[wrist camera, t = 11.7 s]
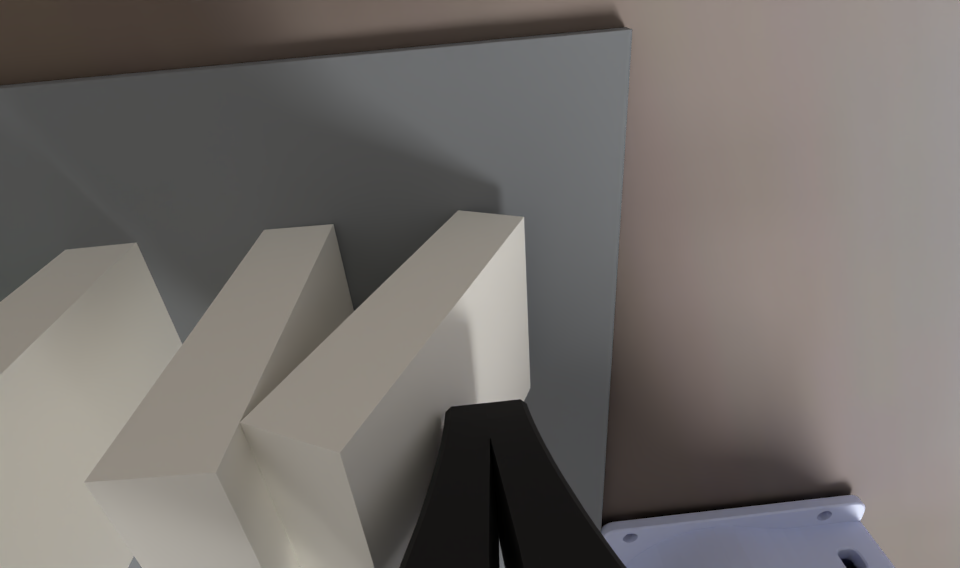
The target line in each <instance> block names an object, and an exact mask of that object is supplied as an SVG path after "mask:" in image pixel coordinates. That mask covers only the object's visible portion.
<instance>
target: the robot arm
mask: <svg viewBox="0 0 960 568" xmlns="http://www.w3.org/2000/svg"><path fill="white" fill-rule="evenodd" d="M864 511H865V505H864V504H863V502H862V501H861V500H860V499H859V497H857V496H855V495H844V496H835V497H826V498H818V499H809V500H800V501H791V502H783V503H774V504H765V505H756V506H748V507H739V508H730V509H721V510H713V511H704V512H695V513H686V514H677V515H669V516H660V517H651V518H642V519H634V520H625V521H616V522H611V523H608V524H606V525H604V526H603V527H602V528H601V532H600V531H599V529H598V528H597V527H596V525H595V524H594V522H593V521H592V519H591V518H590V516H589V515H588V513H587V512H586V511H585V509H584V508H583V506H582V504H581V503H580V501H579V500H578V498H577V497H576V495H575V493H574V492H573V490H572V489H571V487H570V486H569V484H568V482H567V481H566V479H565V478H564V476H563V474H562V473H561V471H560V469H559V468H558V466H557V464H556V463H555V461H554V459H553V457H552V455H551V454H550V452H549V450H548V448H547V446H546V445H545V443H544V441H543V439H542V437H541V435H540V433H539V431H538V429H537V427H536V425H535V423H534V420H533V418H532V416H531V413H530V411H529V408H528V405H527V403H525V402H524V401H522V400H521V399H518V400H508V401H499V402H489V403H480V404H470V405H461V406H451V407H450V408H449V409H448V410H447V411H446V412H445V420H444V427H443V433H442V438H441V443H440V448H439V452H438V456H437V459H436V463H435V467H434V471H433V474H432V478H431V481H430V484H429V487H428V490H427V493H426V496H425V499H424V502H423V505H422V508H421V512H420V515H419V517H418V520H417V523H416V526H415V528H414V531H413V534H412V536H411V539H410V541H409V544H408V546H407V549H406V551H405V554H404V557H403V559H402V562H401V564H400V567H399V568H500V561H499V541H500V546H501V551H502V556H503V561H504V566H505V568H895V567H894V565H893V564H892V563H891V561H890V560H889V559H888V557H887V556H886V555H885V553H884V552H883V551H882V549H881V548H880V547H879V545H878V544H877V543H876V541H875V540H874V539H873V538H872V536H871V535H870V534H869V532H868V531H867V530H866V528H865V527H864V526H863V524H862V523H861V522H860V520H861V518H862V516H863V513H864Z"/></svg>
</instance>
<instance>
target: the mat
mask: <svg viewBox="0 0 960 568" xmlns="http://www.w3.org/2000/svg"><path fill="white" fill-rule="evenodd" d="M631 43H632V29H630V28H627V27H624V28H613V29H602V30H591V31H581V32H570V33H559V34H548V35H538V36H527V37H516V38H505V39H495V40H484V41H473V42H463V43H452V44H441V45H430V46H420V47H409V48H398V49H387V50H377V51H366V52H355V53H344V54H334V55H323V56H312V57H301V58H291V59H280V60H269V61H259V62H248V63H237V64H226V65H216V66H205V67H194V68H183V69H173V70H162V71H151V72H140V73H130V74H119V75H108V76H97V77H87V78H76V79H65V80H54V81H44V82H33V83H22V84H12V85H1V86H0V302H1V301H2V300H3V299H5V298H6V297H7V296H8V295H10V294H11V293H12V292H13V291H15V290H16V289H17V288H18V287H20V286H21V285H22V284H23V283H25V282H26V281H27V280H28V279H29V278H31V277H32V276H33V275H34V274H36V273H37V272H38V271H39V270H41V269H42V268H43V267H44V266H46V265H47V264H48V263H49V262H51V261H52V260H53V259H54V258H56V257H57V256H58V255H59V254H61V253H62V252H63V251H64V250H66V249H76V248H86V247H96V246H106V245H116V244H126V243H137V245H138V247H139V249H140V251H141V254H142V256H143V258H144V260H145V262H146V265H147V267H148V269H149V271H150V274H151V276H152V278H153V280H154V282H155V285H156V287H157V289H158V291H159V294H160V296H161V298H162V300H163V302H164V305H165V307H166V309H167V311H168V314H169V316H170V318H171V320H172V322H173V325H174V327H175V329H176V331H177V334H178V336H179V338H180V340H181V342H182V344H183V343H184V341H185V340H186V339H187V337H188V336H189V334H190V333H191V332H192V330H193V329H194V327H195V326H196V325H197V323H198V322H199V320H200V319H201V318H202V316H203V315H204V313H205V312H206V311H207V309H208V308H209V306H210V305H211V304H212V302H213V301H214V299H215V298H216V297H217V295H218V294H219V292H220V291H221V290H222V288H223V287H224V285H225V284H226V282H227V281H228V280H229V278H230V277H231V275H232V274H233V273H234V271H235V270H236V268H237V267H238V266H239V264H240V263H241V261H242V260H243V259H244V257H245V256H246V254H247V253H248V252H249V250H250V249H251V247H252V246H253V245H254V243H255V242H256V240H257V239H258V238H259V236H260V235H261V233H262V232H263V231H264V230H266V229H279V228H291V227H303V226H315V225H328V224H334V229H335V233H336V237H337V241H338V246H339V250H340V254H341V258H342V262H343V267H344V271H345V275H346V279H347V284H348V288H349V292H350V296H351V301H352V305H353V309H354V311H355V310H356V309H357V308H358V307H359V306H360V305H361V304H362V303H363V302H364V301H365V300H366V299H367V298H368V297H369V296H370V295H372V294H373V293H374V292H375V291H376V290H377V289H378V288H379V287H380V286H381V285H382V284H383V283H384V282H385V281H386V280H387V279H388V278H389V277H390V276H391V275H392V274H393V273H394V272H395V271H396V270H397V269H398V268H399V267H400V266H401V265H402V264H403V263H404V262H405V261H407V260H408V259H409V258H410V257H411V256H412V255H413V254H414V253H415V252H416V251H417V250H418V249H419V248H420V247H421V246H422V245H423V244H424V243H425V242H426V241H427V240H428V239H429V238H430V237H431V236H432V235H433V234H434V233H435V232H436V231H437V230H438V229H439V228H441V227H442V226H443V225H444V224H445V223H446V222H447V221H448V220H449V219H450V218H451V217H452V216H453V215H454V214H455V213H456V212H457V211H458V210H461V211H471V212H481V213H491V214H501V215H511V216H521V217H524V228H525V255H526V281H527V308H528V335H529V361H530V390H529V392H528V394H527V396H526V398H525V400H524V402H525V403H527V405H528V408H529V411H530V413H531V416H532V418H533V420H534V423H535V425H536V427H537V429H538V431H539V433H540V435H541V437H542V439H543V441H544V443H545V445H546V446H547V448H548V450H549V452H550V454H551V455H552V457H553V459H554V461H555V463H556V464H557V466H558V468H559V469H560V471H561V473H562V474H563V476H564V478H565V479H566V481H567V482H568V484H569V486H570V487H571V489H572V490H573V492H574V493H575V495H576V497H577V498H578V500H579V501H580V503H581V504H582V506H583V508H584V509H585V511H586V512H587V513H588V515H589V516H590V518H591V519H592V521H593V522H594V524H595V525H596V527H597V528H598V529H599V531H600V532H601V524H602V508H603V492H604V476H605V460H606V444H607V428H608V412H609V396H610V380H611V364H612V348H613V331H614V315H615V299H616V283H617V267H618V251H619V235H620V219H621V203H622V187H623V171H624V155H625V139H626V123H627V107H628V91H629V75H630V59H631ZM499 561H500V568H505V566H504V561H503V556H502V551H501V546H500V541H499ZM128 568H142V567H141V566H140V564H139V563H138V561H137V560H136V558H135V557H133V559H132V561H131V563H130V565H129V567H128Z"/></svg>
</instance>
